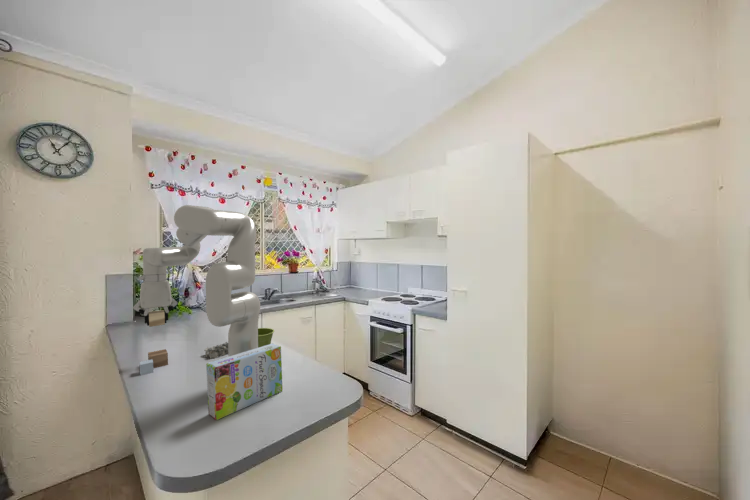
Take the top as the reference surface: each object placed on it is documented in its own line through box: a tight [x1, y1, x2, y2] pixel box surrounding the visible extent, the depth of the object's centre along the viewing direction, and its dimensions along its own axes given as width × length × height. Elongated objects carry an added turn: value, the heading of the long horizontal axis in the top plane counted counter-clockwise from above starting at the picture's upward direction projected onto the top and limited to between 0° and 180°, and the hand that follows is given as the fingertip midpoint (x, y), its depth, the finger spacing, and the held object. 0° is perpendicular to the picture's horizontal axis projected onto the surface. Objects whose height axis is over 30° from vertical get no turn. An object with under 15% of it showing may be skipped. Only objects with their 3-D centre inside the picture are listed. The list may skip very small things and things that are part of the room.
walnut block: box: [147, 348, 169, 369], centre depth 125 cm, size 6×6×5 cm
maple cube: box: [148, 309, 166, 328], centre depth 124 cm, size 5×5×5 cm
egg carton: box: [204, 341, 228, 360], centre depth 136 cm, size 11×8×4 cm
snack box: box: [205, 343, 283, 421], centre depth 94 cm, size 21×6×15 cm, turn 141°
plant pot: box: [258, 327, 275, 348], centre depth 130 cm, size 12×12×11 cm
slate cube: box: [139, 359, 154, 376], centre depth 118 cm, size 4×4×4 cm
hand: (156, 323), depth 124 cm, fingers closed on maple cube, 5 cm apart
